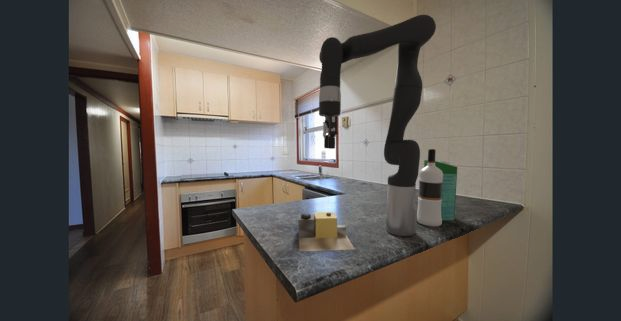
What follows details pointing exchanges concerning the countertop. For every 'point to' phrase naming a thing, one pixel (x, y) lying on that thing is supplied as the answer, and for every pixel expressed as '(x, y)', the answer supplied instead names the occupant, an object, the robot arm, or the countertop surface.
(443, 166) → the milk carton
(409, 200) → the robot arm
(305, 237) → the peg board base
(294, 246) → the countertop surface
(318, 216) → the yellow cube with hole
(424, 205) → the vodka
